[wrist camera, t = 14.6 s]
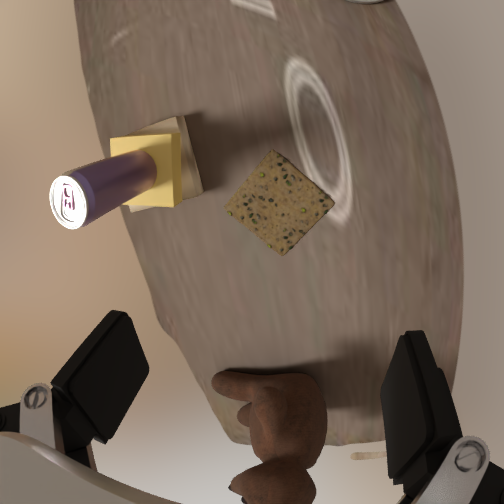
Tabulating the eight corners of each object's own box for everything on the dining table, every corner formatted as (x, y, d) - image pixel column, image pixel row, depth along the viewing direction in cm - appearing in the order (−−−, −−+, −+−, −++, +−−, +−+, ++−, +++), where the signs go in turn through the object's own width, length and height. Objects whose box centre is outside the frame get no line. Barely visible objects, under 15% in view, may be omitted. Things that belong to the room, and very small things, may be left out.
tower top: (121, 136, 39) (110, 138, 36) (180, 132, 37) (171, 134, 34) (125, 198, 43) (115, 204, 40) (182, 201, 42) (173, 207, 39)
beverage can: (161, 152, 36) (88, 178, 22) (157, 194, 38) (89, 237, 25) (125, 146, 36) (47, 170, 23) (122, 186, 39) (50, 223, 26)
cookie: (272, 146, 39) (271, 147, 38) (336, 202, 41) (336, 204, 40) (222, 207, 45) (220, 208, 44) (282, 256, 46) (282, 259, 45)
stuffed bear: (201, 349, 59) (131, 495, 28) (307, 332, 51) (280, 525, 21) (252, 422, 69) (220, 537, 38) (337, 414, 61) (326, 545, 31)
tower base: (120, 139, 42) (110, 142, 39) (184, 116, 39) (175, 116, 36) (140, 206, 47) (131, 212, 44) (204, 191, 43) (197, 196, 41)
